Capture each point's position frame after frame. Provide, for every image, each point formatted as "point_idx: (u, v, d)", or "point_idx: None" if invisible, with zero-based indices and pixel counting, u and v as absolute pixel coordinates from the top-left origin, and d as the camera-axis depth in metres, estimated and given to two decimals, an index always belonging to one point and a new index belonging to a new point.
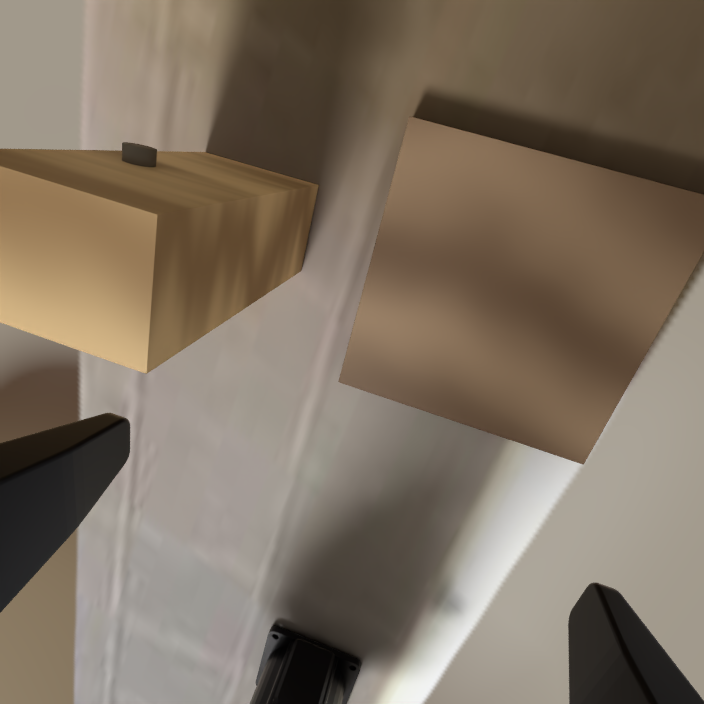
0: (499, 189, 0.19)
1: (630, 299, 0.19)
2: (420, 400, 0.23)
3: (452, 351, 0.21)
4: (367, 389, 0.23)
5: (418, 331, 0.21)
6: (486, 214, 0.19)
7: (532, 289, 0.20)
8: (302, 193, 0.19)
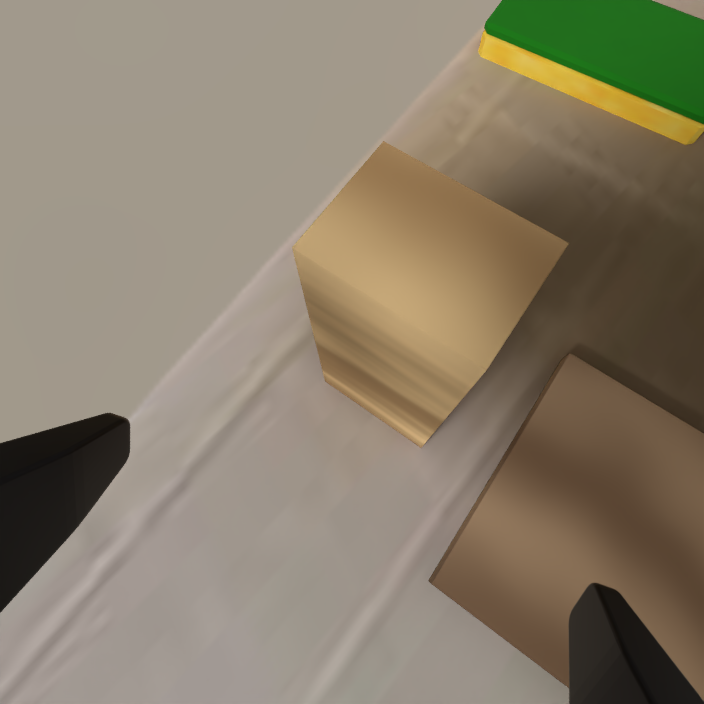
0: (638, 433, 0.21)
1: None
2: (527, 639, 0.18)
3: (574, 583, 0.19)
4: (464, 605, 0.19)
5: (541, 547, 0.20)
6: (625, 450, 0.21)
7: (664, 536, 0.20)
8: None
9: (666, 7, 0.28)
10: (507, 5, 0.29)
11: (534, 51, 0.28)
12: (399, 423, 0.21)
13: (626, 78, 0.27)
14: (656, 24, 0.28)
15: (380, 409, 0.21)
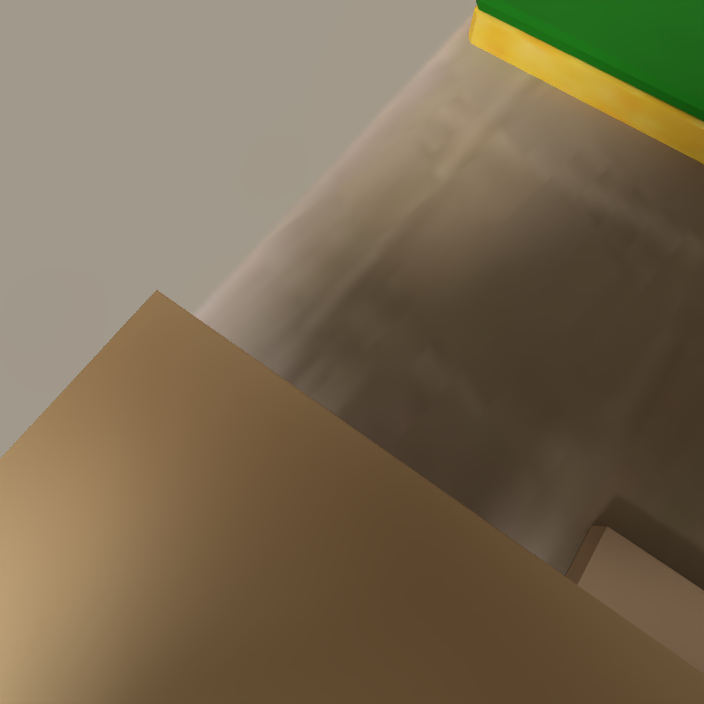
0: None
1: None
2: None
3: None
4: None
5: None
6: None
7: None
8: None
9: None
10: None
11: (542, 38, 0.20)
12: None
13: (671, 84, 0.18)
14: None
15: None
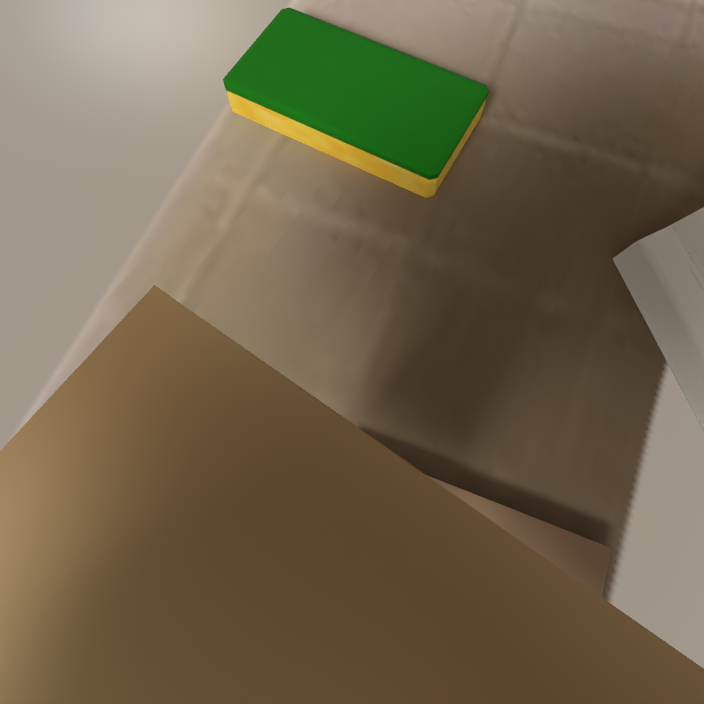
0: None
1: None
2: None
3: None
4: None
5: None
6: None
7: None
8: None
9: (407, 56, 0.28)
10: (247, 60, 0.28)
11: (270, 108, 0.27)
12: None
13: (354, 135, 0.26)
14: (393, 75, 0.27)
15: None
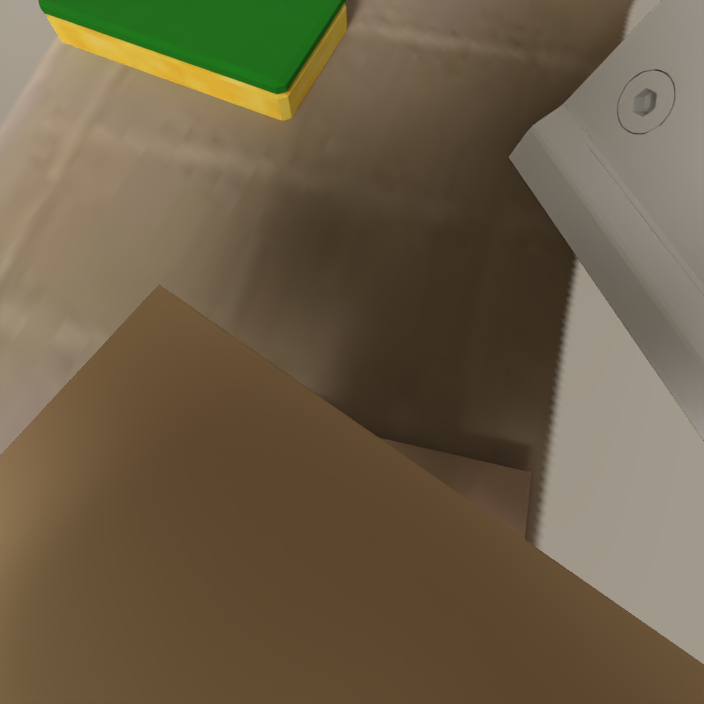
0: None
1: None
2: None
3: None
4: None
5: None
6: None
7: None
8: None
9: None
10: None
11: (94, 28, 0.23)
12: None
13: (188, 49, 0.22)
14: None
15: None
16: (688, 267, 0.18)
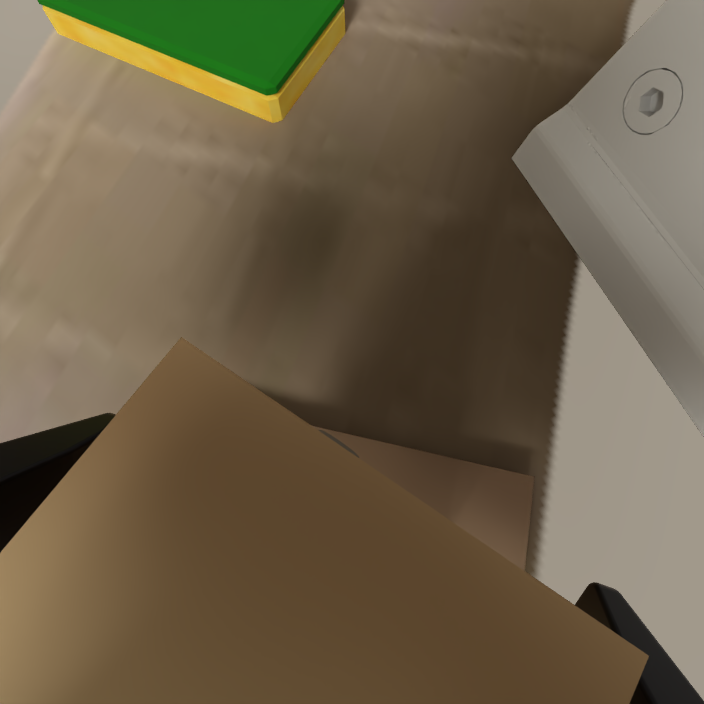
0: None
1: None
2: None
3: None
4: None
5: None
6: None
7: None
8: None
9: None
10: None
11: (88, 21, 0.23)
12: None
13: (179, 46, 0.22)
14: None
15: None
16: (696, 270, 0.17)
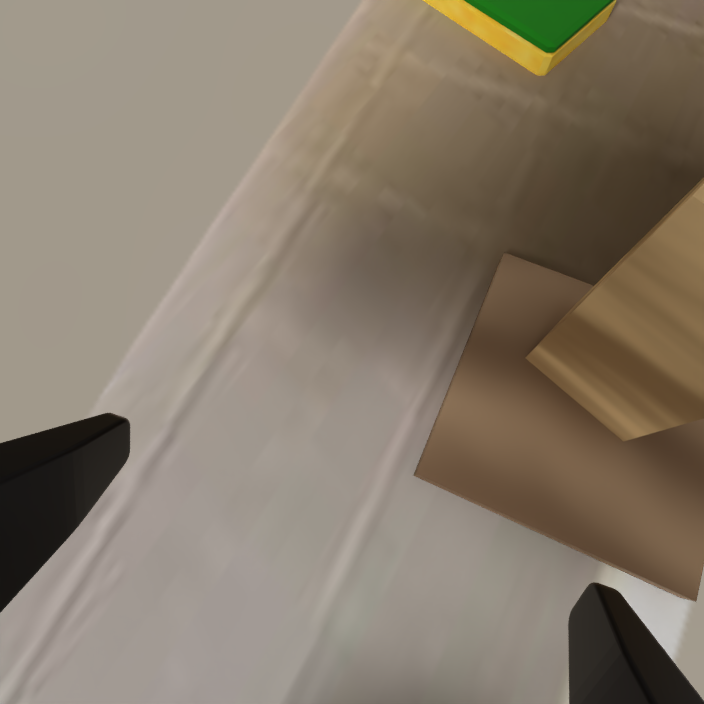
0: None
1: None
2: (508, 502, 0.20)
3: (541, 447, 0.21)
4: (448, 485, 0.21)
5: (507, 422, 0.21)
6: None
7: None
8: None
9: None
10: None
11: None
12: (618, 411, 0.20)
13: (488, 2, 0.29)
14: None
15: (599, 394, 0.20)
16: None
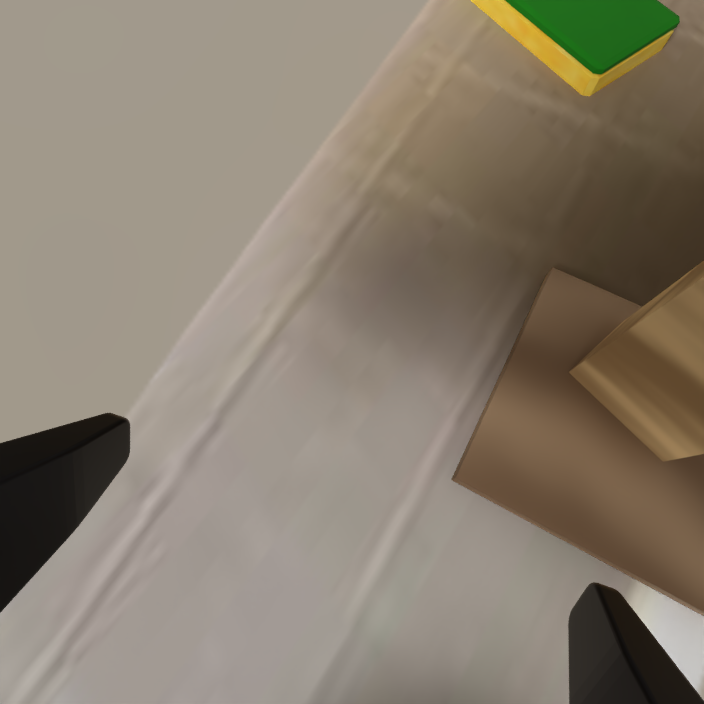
0: None
1: None
2: (545, 513, 0.21)
3: (581, 461, 0.21)
4: (486, 492, 0.21)
5: (548, 434, 0.22)
6: None
7: None
8: None
9: None
10: None
11: None
12: (661, 431, 0.20)
13: (544, 17, 0.29)
14: None
15: (644, 413, 0.20)
16: None
